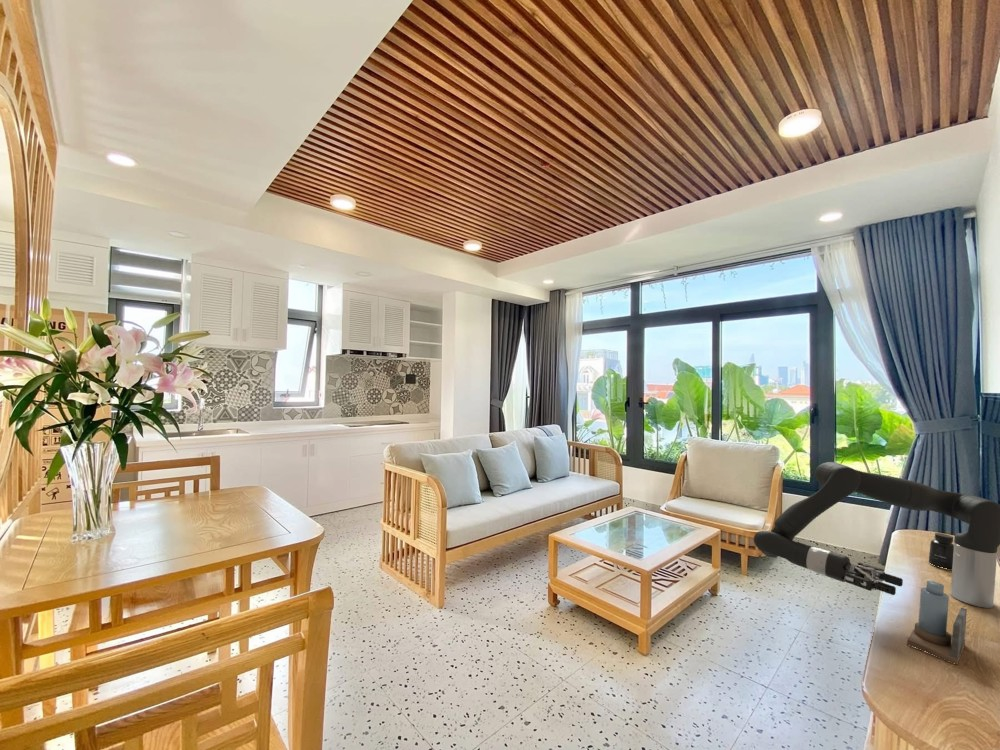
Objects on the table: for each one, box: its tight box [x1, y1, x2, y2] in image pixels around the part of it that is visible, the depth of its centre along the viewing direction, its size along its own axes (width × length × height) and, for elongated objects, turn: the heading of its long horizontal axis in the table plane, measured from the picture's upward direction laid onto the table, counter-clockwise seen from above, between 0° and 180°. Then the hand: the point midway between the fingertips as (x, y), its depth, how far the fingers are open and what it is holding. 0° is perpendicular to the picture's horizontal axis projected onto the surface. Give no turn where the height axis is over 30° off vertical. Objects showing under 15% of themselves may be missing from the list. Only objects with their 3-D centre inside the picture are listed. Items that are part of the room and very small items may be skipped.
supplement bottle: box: [928, 532, 954, 569], centre depth 162 cm, size 7×7×12 cm
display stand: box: [906, 607, 968, 665], centre depth 112 cm, size 14×9×10 cm, turn 127°
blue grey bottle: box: [917, 580, 950, 636], centre depth 113 cm, size 5×5×12 cm
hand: (899, 587), depth 118 cm, fingers open, 8 cm apart
